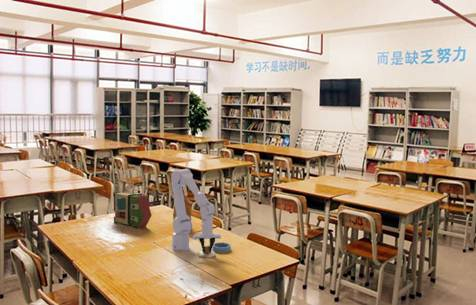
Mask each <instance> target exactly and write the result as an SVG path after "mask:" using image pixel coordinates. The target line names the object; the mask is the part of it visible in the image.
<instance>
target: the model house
mask: <svg viewBox="0 0 476 305" xmlns="http://www.w3.org/2000/svg"><path fill="white" fill-rule="evenodd" d="M113 212H114V216H113V223H119V224H124V225H127V226H128V227H136V228H137V229H138V230H140V229H143V228H146V227H147V226H148V224H149V222H150V219H151V217H152V215H153V214H152V212H151V208H150V205H149V201H148V199H147V195H145V194H136V193H133V194H132V193H127V192H122V191H115V192H113Z"/></svg>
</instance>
